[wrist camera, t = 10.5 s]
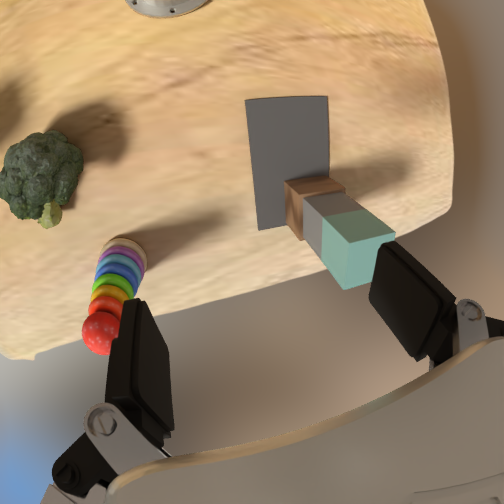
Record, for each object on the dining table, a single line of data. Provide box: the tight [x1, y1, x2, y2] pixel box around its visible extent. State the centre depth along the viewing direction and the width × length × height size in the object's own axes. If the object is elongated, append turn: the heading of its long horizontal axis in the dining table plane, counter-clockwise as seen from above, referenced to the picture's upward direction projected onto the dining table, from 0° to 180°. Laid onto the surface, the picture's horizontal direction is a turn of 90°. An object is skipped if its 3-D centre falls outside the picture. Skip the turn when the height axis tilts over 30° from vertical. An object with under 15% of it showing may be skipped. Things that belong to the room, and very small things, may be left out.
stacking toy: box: [82, 238, 147, 355], centre depth 33 cm, size 8×8×19 cm
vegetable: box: [0, 130, 83, 229], centre depth 27 cm, size 12×13×15 cm
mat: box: [245, 96, 329, 231], centre depth 39 cm, size 20×12×1 cm, turn 6°
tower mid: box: [303, 192, 365, 260], centre depth 35 cm, size 6×6×6 cm
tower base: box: [284, 175, 345, 241], centre depth 40 cm, size 7×7×6 cm
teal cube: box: [321, 209, 396, 290], centre depth 30 cm, size 6×6×6 cm
